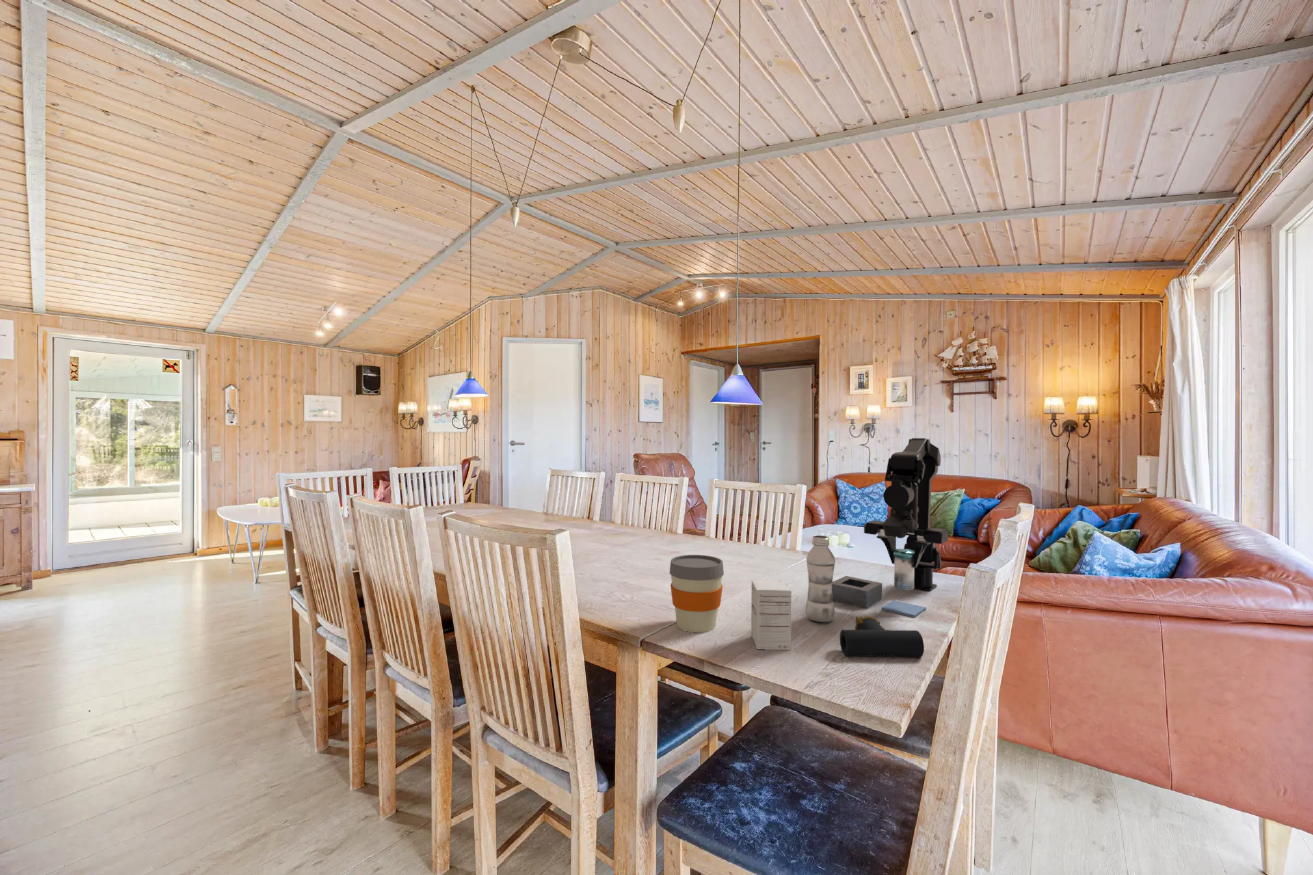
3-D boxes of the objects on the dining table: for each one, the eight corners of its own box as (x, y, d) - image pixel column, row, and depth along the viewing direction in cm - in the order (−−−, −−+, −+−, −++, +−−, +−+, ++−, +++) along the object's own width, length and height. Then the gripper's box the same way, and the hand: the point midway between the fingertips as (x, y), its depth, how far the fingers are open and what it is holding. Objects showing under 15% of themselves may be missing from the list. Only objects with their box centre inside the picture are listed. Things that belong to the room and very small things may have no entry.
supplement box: (750, 636, 119) (750, 579, 118) (784, 636, 118) (784, 579, 118) (755, 650, 111) (755, 589, 111) (791, 650, 111) (792, 589, 111)
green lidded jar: (897, 582, 140) (897, 547, 140) (918, 587, 136) (918, 550, 136) (889, 587, 136) (889, 551, 136) (911, 591, 133) (911, 554, 132)
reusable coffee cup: (701, 640, 116) (701, 571, 116) (658, 625, 125) (658, 561, 125) (734, 624, 126) (734, 560, 125) (692, 612, 134) (692, 552, 134)
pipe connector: (830, 613, 119) (899, 614, 118) (830, 637, 119) (899, 638, 119) (848, 634, 107) (924, 635, 107) (847, 660, 108) (923, 661, 107)
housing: (845, 591, 151) (846, 575, 151) (881, 599, 144) (882, 583, 144) (829, 599, 144) (829, 583, 144) (866, 608, 137) (866, 591, 137)
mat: (893, 602, 142) (893, 600, 142) (925, 609, 136) (925, 607, 136) (881, 609, 136) (881, 607, 136) (914, 617, 131) (914, 615, 131)
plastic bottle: (810, 613, 133) (811, 532, 133) (838, 619, 129) (839, 536, 129) (801, 621, 128) (801, 537, 128) (829, 627, 124) (830, 540, 124)
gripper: (855, 503, 137) (854, 564, 137) (934, 511, 124) (933, 579, 124) (872, 499, 145) (872, 557, 145) (949, 506, 132) (948, 570, 132)
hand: (904, 565), depth 136 cm, fingers closed on green lidded jar, 5 cm apart
